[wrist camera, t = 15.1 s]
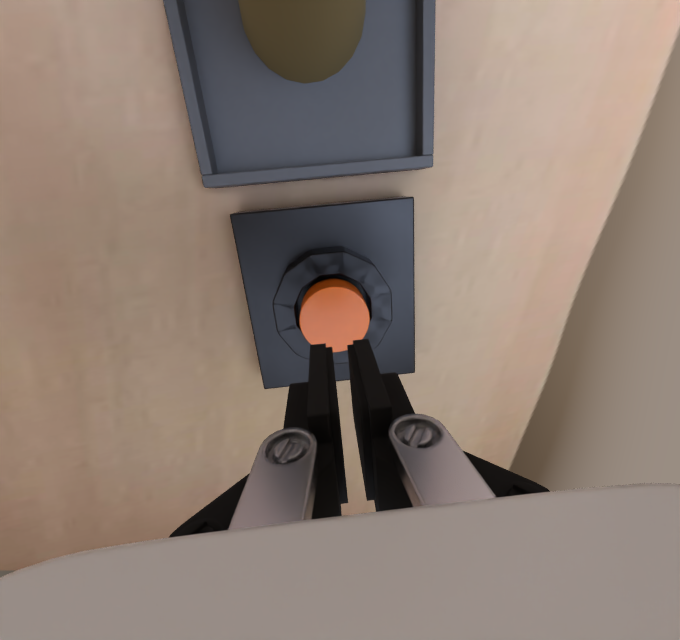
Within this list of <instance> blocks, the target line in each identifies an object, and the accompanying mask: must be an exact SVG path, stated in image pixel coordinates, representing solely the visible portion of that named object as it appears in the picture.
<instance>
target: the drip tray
mask: <svg viewBox="0 0 680 640" xmlns="http://www.w3.org/2000/svg"><path fill="white" fill-rule="evenodd" d="M163 2H164V6H165V11H166V16H167V20H168V25H169V29H170V34H171V39H172V43H173V48H174V52H175V57H176V61H177V66H178V71H179V75H180V80H181V84H182V89H183V94H184V98H185V103H186V107H187V112H188V116H189V121H190V126H191V130H192V135H193V139H194V144H195V149H196V153H197V158H198V162H199V167H200V171H201V175H203V176H202V181H203V185H204V187H205V188H223V187H234V186H245V185H256V184H267V183H278V182H289V181H299V180H310V179H321V178H332V177H343V176H354V175H365V174H376V173H387V172H397V171H408V170H419V169H425V168H430V167H433V155H432V154H433V142H434V69H435V0H366V13H365V19H364V25H363V32H362V37H361V39H360V41H359V43H358V46H357V48H356V50H355V52H354V54H353V56H352V58H351V59H350V60H349V61H348V62H347V63H346V64H345V66H344V67H343V68H342V69H341V70H340V71H339V72H338V73H336V74H334V75H332V76H331V77H329V78H327V79H325V80H323V81H319V82H312V83H305V84H304V83H300V82H295V81H291V80H286V79H285V78H283V77H281V76H280V75H278V74H277V73H275V72H273V71H272V70H270V69H269V68H268V67H267V66H266V65H265V64H264V62H263V61H262V60H261V59H260V58H259V57H258V56H257V54H256V53H255V52H254V50H253V48H252V46H251V44H250V42H249V40H248V38H247V35H246V33H245V31H244V28H243V23H242V18H241V13H240V8H239V2H238V0H163Z"/></svg>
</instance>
